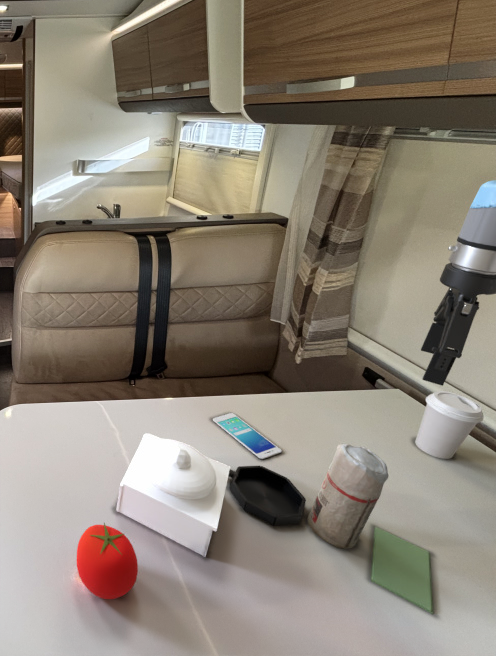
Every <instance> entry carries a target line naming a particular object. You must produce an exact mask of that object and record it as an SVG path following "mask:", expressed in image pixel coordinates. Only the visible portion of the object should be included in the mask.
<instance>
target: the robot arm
mask: <svg viewBox="0 0 496 656" xmlns="http://www.w3.org/2000/svg"><path fill="white" fill-rule="evenodd" d="M447 249H448V251H449V252H450V251H451V252H450V255H449V258H448V261H449V263H446V264H445V265H444V268H443V270H442V271H441V275H440V277H439V282H440V283H441V284H442V285H444V286H446V287H448V289H447V291H446V292H445V295H444V296H443V298H442V300H441V301H440V303H439V305H438V306H437V308H436V310H435V311H434V313H433V314H434V317H433V322H432V323H431V325H430V328H429V329H428V332H427V334H426V336H425V338H424V341H423V344H422V345H421V348H420V351H421V352H425V353H429V354H432V357H431V359H430V360H429V363H428V366H427V368H426V369H425V372H424V374H423V376H422V381H425V382H428V383H430V384H431V383H432V384H435V385H439V386H442V387H443V386H444V385H445V382H446V380H447V378H448V376H449V375H450V372H451V370H452V368H453V365H454V364H455V361H456V359H461V357H462V353H463V352H464V351H463V350H464V347H465V345H466V341H467V340H468V337H469V333H470V330H471V328H472V325H473V322H474V319H475V316H476V315H477V312H478V310H480V301H478V296H481V295H485V296H492V295H496V179H492V180H489V181H485V183H482V184H481V185H480V187H479V189H478V191H477V193H476V195H475V196H474V199H473V201H472V202H471V204H470V206H469V208H468V210H467V214H466V216H465V219H464V221H463V223H462V225H461V229H460V231H459V234H458V236H457V239H456V241H455V245H448V248H447Z"/></svg>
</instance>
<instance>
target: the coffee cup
mask: <svg viewBox="0 0 496 656" xmlns="http://www.w3.org/2000/svg"><path fill="white" fill-rule="evenodd" d="M425 402H426V405H425V409H424V413H423V416H422V418H421V422H420V425H419V429H418V431H417V435H416V438H415V442H414V443H415V445H416V447H418V449H419V450H421V451H422V452H424V453H426V454H428V455H430V456H431V457H434V458H438V459H441V460H450V459H453V457H454V455H455V454H456V452H457V451H458V450H459V448H460V447H461V446H462V444H463V443H464V442H465V440H466V439H467V438H468V437H469V435H470V434H471V432H472V431H473V429H474V428H475V427H476V426H477V424H478V423H481V422H483V421H484V412H483V408H482V406H481V405H479V403H477V402H476V401H474V400H473V399H471V398H469V397H466V396H464V395H462V394H459V393H455V392H452V391H448V390H447V391H446V390H436V391H434V392H432V393H430V394H429V395H427V396H426V397H425Z"/></svg>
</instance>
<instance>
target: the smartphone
mask: <svg viewBox="0 0 496 656" xmlns="http://www.w3.org/2000/svg"><path fill="white" fill-rule="evenodd" d="M212 422H213V423H214V424H216V425H217V426H218V427H219V428H221V429H222V430H223V431H224V432H226V434H228V435H229V436H230V437H232V438H233V439H234V440H235V441H236V442H238V443H239V444H240V445H241V446H242V447H243V448H244V449H246V450H247V451H248V452H250V453H251V454H252V455H253V456H255V457H256V458H257V459H259V460H260V461H263V460H264V461H265V460H266V459H269V458H272V457H274V456H277V455H281V454H282V451H283V450H282V449H281V448H280V447H279V446H277V445H276V444H274V443H273V442H272V441H270V440H269V439H268V438H267V437H265V436H264V435H263V434H262V433H260V432H259V431H257V430H256V429H255V428H254V427H252V426H251V425H250V424H248V423H247V422H246V421H245V420H243V419H242V418H240V417H239V416H238V415H236V414H235V413H233V412H228V413H226V414H222V415H220V416H216V417H213V418H212Z"/></svg>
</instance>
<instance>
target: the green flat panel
mask: <svg viewBox="0 0 496 656" xmlns="http://www.w3.org/2000/svg"><path fill="white" fill-rule="evenodd" d="M373 532H374V534H373V547H372V561H371V574H370V581H371V582H372V583H374V584H376V585H378V586H379V587H381V588H383V589H384V590H387V591H389V592H391V593H392V594H395V595H396V596H398V597H399V598H401V599H404V600H405V601H407V602H409V603H411V604H413V605H414V606H416V607H419V608H420V609H422V610H424V611H426V612H428V613H430V614H431V615H434V608H433V590H432V589H433V588H432V587H433V586H432V569H431V568H432V567H431V553H430V552H429V551H428V550H426V549H424V548H422V547H419V545H418V546H417V545H416V544H413V543H411V542H410V541H407V540H405V539H402V538H401V537H398V536H397V535H394V534H392V533H391V532H388V531H386V530H384V529H382V528H379V527H377V526H375V527H374V531H373Z"/></svg>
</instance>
